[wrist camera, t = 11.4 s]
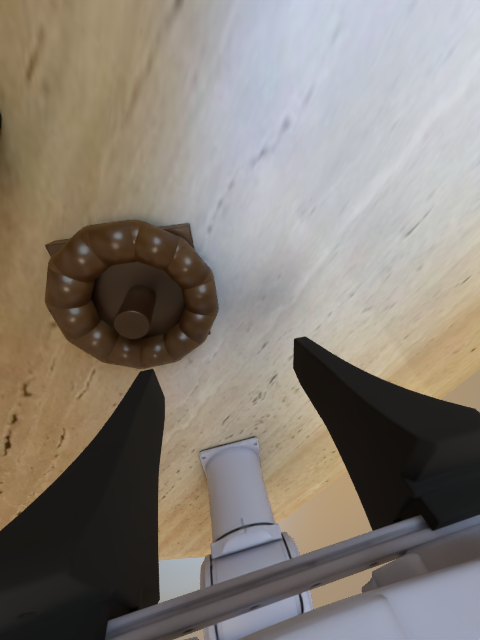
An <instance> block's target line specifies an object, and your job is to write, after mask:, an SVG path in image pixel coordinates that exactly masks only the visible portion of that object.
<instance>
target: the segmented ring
mask: <svg viewBox="0 0 480 640" xmlns="http://www.w3.org/2000/svg"><path fill="white" fill-rule="evenodd" d="M132 262H140V263H143V264H146V265H149V266H152V267H155V268H158V269H161V270H164V271H165V272H166V273H167V274H168V275H169V276H170V277H171V278H172V279H173V280H174V281H175V282H176V283H177V284H178V285H179V286H180V287H181V290H182V294H183V298H184V302H185V309H184V312H183V314H182V317H181V320H180V322H179V323H178V324H177V325H175V326H174V327H173V328H172V329H170V330H169V331H168V332H166V333H165V334H161V335H156V336H150V337H145V338H142V337H140V338H137V339H130V338H126V337H123V336H122V335H120V334H119V333H118V332H117V331H116V330H115V329H114V328H113V327H111V326H110V325H109V324H107V323H106V322H104V321H103V320H102V319H100V316H99V314H98V312H97V310H96V308H95V306H94V304H93V302H92V300H91V298H92V292H93V287H94V281H95V279H96V278H97V277H99V276H100V275H101V274H102V273H103V272H104V271H106V270H107V269H108V268H109V267H110V266H112V265H119V264H125V263H132ZM45 303H46V306H47V308H48V310H49V311H50V313H51V315H52V316H53V318H54V320H55V321H56V323H57V325H58V326H59V328H60V330H61V331H62V333H63V335H64V336H65V338H66V339H67V340H68V341H69V342H71V343H72V344H74V345H75V346H77V347H79V348H80V349H82V350H83V351H85V352H87V353H88V354H90V355H91V356H93V357H95V358H96V359H98V360H100V361H101V362H104V363H109V364H114V365H120V366H126V367H132V368H138V369H145V368H150V367H155V366H159V365H164V364H169V363H174V362H177V361H179V360H180V359H182V358H183V357H184V356H186V355H187V354H189V353H190V352H191V351H193V350H194V349H195V348H197V347H198V346H199V345H201V344H202V343H203V342H204V341H205V340H206V338H207V336H208V334H209V331H210V329H211V327H212V325H213V322H214V320H215V318H216V316H217V313H218V308H219V307H218V300H217V294H216V287H215V281H214V276H213V273H212V271H211V269H210V268H209V267H208V266H207V264H206V263H205V262H204V261H203V260H202V258H201V257H200V256H199V255H198V254H197V252H196V251H195V250H194V249H193V248H192V247H191V245H190V244H189V243H188V242H187V241H186V240H185V239H184V238H182V237H180V236H178V235H175V234H173V233H170V232H168V231H165V230H163V229H160V228H158V227H155V226H153V225H150V224H148V223H145V222H143V221H140V220H126V221H119V222H111V223H103V224H95V225H89V226H86V227H83V228H82V229H81V230H79V231H78V232H77V233H76V234H75V235H74V236H73V237H72V238H71V239H70V240H69V241H68V242H66V243H65V244H64V245H63V246H62V247H61V248H60V249H59V250H58V251H57V252H56V253H55V254H53V256H52V257H51V258H50V260H49V263H48V271H47V282H46V293H45Z"/></svg>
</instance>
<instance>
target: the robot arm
mask: <svg viewBox="0 0 480 640" xmlns="http://www.w3.org/2000/svg"><path fill="white" fill-rule="evenodd" d="M293 369H294V371H295V373H296V375H297V378H298V380H299V382H300V384H301V386H302V388H303V389H304V391H305V393H306V394H307V396H308V397H309V399H310V401H311V402H312V404H313V406H314V407H315V409H316V410H317V412H318V414H319V415H320V417H321V418H322V420H323V422H324V423H325V425H326V427H327V429H328V431H329V433H330V435H331V437H332V439H333V441H334V443H335V445H336V447H337V449H338V451H339V453H340V455H341V458H342V460H343V462H344V464H345V466H346V468H347V471H348V473H349V475H350V477H351V479H352V482H353V484H354V486H355V489H356V491H357V493H358V496H359V498H360V500H361V503H362V505H363V508H364V510H365V513H366V515H367V517H368V520H369V522H370V525H371V528H372V530H373V531H371V532H368V533H366V534H362V535H359V536H357V537H354V538H351V539H348V540H345V541H342V542H339V543H336V544H333V545H330V546H327V547H324V548H321V549H318V550H315V551H312V552H309V553H306V554H304V555H300V553H299V551H298V548H297V545H296V543H295V541H294V540H293V538H292V537H291V536H289V535H288V533H287V532H282V533H281V531H280V527H279V524H278V523H277V524H275V521H274V517H273V513H272V510H271V506H270V502H269V499H268V495H267V491H266V487H265V484H264V480H263V476H262V473H261V466H260V454H259V443H258V438H251V439H247V440H243V441H239V442H235V443H232V444H228V445H224V446H220V447H216V448H212V449H209V450H205V451H201V452H200V453H199V458H200V461H201V463H202V466H203V469H204V472H205V475H206V478H207V481H208V492H209V503H210V515H211V527H212V539H213V543H211V554H209V555H207V556H206V557H205V560H204V562H203V564H202V565H201V573H200V574H201V575H200V590H197V591H195V592H192V593H189V594H186V595H183V596H180V597H177V598H174V599H171V600H168V601H165V602H162V603H159V604H158V602H159V600H160V595H159V594H160V593H159V563H158V477H159V464H160V455H161V447H162V438H163V430H164V420H165V397H164V395H163V392H162V390H161V387H160V385H159V382H158V380H157V377H156V375H155V372H154V370H153V369H150V370H146V371H141V372H140V373H139V374H138V376H137V377H136V379H135V380H134V382H133V384H132V385H131V387H130V388H129V390H128V392H127V393H126V395H125V396H124V398H123V399H122V401H121V402H120V404H119V405H118V407H117V408H116V410H115V411H114V413H113V414H112V415H111V417H110V418H109V419H108V421H107V422H106V423H105V425H104V426H103V428H102V429H101V430H100V431H99V433H98V434H97V435H96V436H95V438H94V439H93V440H92V441H91V443H90V444H89V445H88V446H87V447H86V448H85V450H84V451H83V452H82V453H81V454H80V455H79V456H78V457H77V458H76V460H75V461H74V462H73V463H72V464H71V465H70V466H69V467H68V468H67V469H66V470H65V471H64V472H63V473H62V474H61V475H60V476H59V477H58V478H57V479H56V480H55V481H54V482H53V483H52V484H51V485H50V486H49V487H48V488H47V489H46V490H45V491H44V492H43V493H42V494H41V495H40V496H39V497H38V498H37V499H36V500H35V501H34V502H33V503H31V504H30V505H29V506H28V507H27V508H26V509H25V510H24V511H23V512H22V513H21V514H19V515H18V516H17V517H16V518H15V519H14V520H13V521H11V522H10V523H9V524H8V525H7V526H6V527H4V528H3V529H2V530H1V531H0V640H173V639H176V638H179V637H181V636H184V635H187V634H190V633H192V632H195V631H198V630H201V629H203V632H204V639H205V640H480V413H479V412H478V411H477V410H476V409H473V408H470V407H465V406H462V405H458V404H454V403H450V402H446V401H443V400H439V399H436V398H433V397H429V396H426V395H423V394H420V393H417V392H414V391H411V390H408V389H405V388H403V387H400V386H397V385H395V384H392V383H390V382H387V381H385V380H382V379H380V378H378V377H376V376H374V375H371V374H369V373H367V372H365V371H363V370H361V369H359V368H357V367H355V366H353V365H351V364H350V363H348V362H346V361H344V360H342V359H341V358H339V357H337V356H336V355H334V354H332V353H331V352H329V351H327V350H326V349H324V348H323V347H321V346H320V345H318V344H316V343H315V342H313V341H312V340H310V339H308V338H307V337H300V338H296V339H294V359H293ZM397 558H398V559H397ZM395 559H396V560H395ZM392 560H394V561H392ZM389 561H392V562H390V563H388V564H386V565H384V566H382V567H380V568H378V569H376V570H375V571H373V572H372V578H371V580H370V581H369V582H368V583H367V584H365V585H364V586H363V587H362V593H361V594H358V595H355V596H352V597H348V598H345V599H342V600H339V601H336V602H333V603H331V604H328V605H325V606H322V607H319V608H316V609H314V608H313V602H312V596H311V592H310V590H312V589H314V588H317V587H320V586H323V585H325V584H328V583H331V582H334V581H336V580H339V579H342V578H345V577H347V576H350V575H353V574H356V573H359V572H361V571H364V570H367V569H369V568H372V567H375V566H378V565H381V564H384V563H386V562H389ZM185 640H199V639H198V638H197V637H193V638H189V639H185Z"/></svg>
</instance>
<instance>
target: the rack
mask: <svg viewBox="0 0 480 640" xmlns="http://www.w3.org/2000/svg"><path fill="white" fill-rule="evenodd" d="M158 228H160V229H163V230H165V231H168V232H170V233H173V234H175V235H178V236H180V237H182V238H184V239H185V240H186V241H187V242H188V243H189V244H190V245H191V247H192V248H193V249H194V245H193V240H192V235H191V230H190V225H189V223H185V224H178V225H170V226H163V227H158ZM69 240H70V239H65V240H58V241H53V242H51V243H49V244H47V245H45V247H46V248H47V250H48V252H49V254H50V256H51V257H52V256H53V254H55V253H56V252H57V251H58V250H59V249H60V248H61V247H62V246H63V245H64V244H65V243H66V242H68V241H69ZM91 300H92V302H93V304H94V306H95V308H96V310H97V312H98V314H99V316H100V319H102V320H103V321H104V322H106V323H107V324H109V325H110V326H111V327H113V328H114V329H115V330H116V331H117V332H118V333H119V334H120V335H122V336H123V337H126V338H130V339H137V338H140V337H142V338H145V337H150V336H156V335H161V334H165V333H166V332H168V331H169V330H170V329H172V328H173V327H174V326H175V325H177V324H178V323H179V322H180V320H181V317H182V314H183V312H184V309H185V302H184V298H183V294H182V290H181V287H180V286H179V285H178V284H177V283H176V282H175V281H174V280H173V279H172V278H171V277H170V276H169V275H168V274H167V273H166V272H165V271H164V270H161V269H158V268H155V267H152V266H149V265H146V264H143V263H140V262H132V263H125V264H119V265H112V266H110V267H109V268H108V269H107V270H106V271H104V272H103V273H102V274H101V275H100V276H99V277H97V278H96V279H95V281H94V287H93V292H92V298H91ZM209 334H210V331H209ZM209 334H208V335H209Z"/></svg>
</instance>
